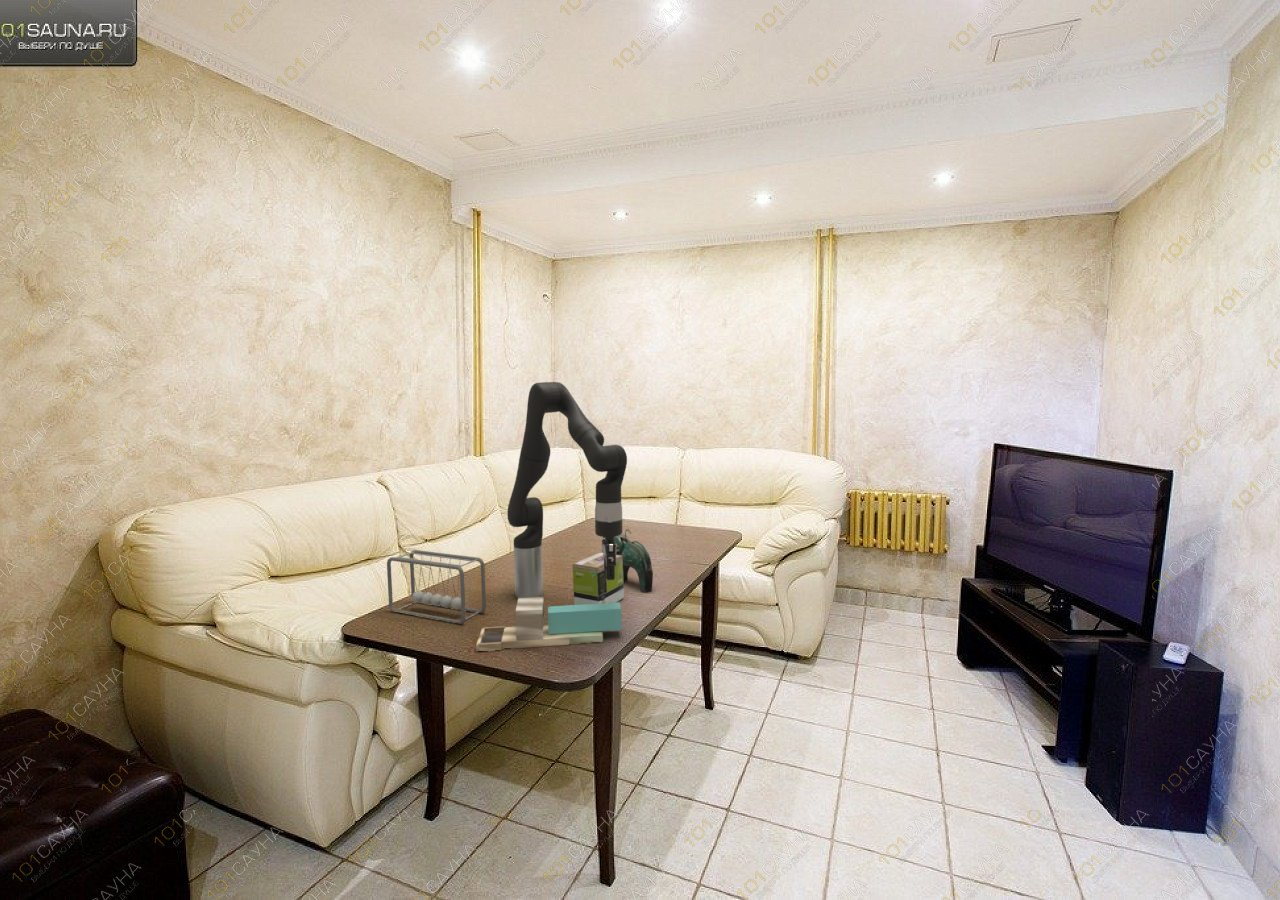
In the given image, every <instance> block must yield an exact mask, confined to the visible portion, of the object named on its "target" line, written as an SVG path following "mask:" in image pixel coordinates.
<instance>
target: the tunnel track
mask: <svg viewBox="0 0 1280 900" xmlns="http://www.w3.org/2000/svg"><path fill="white" fill-rule="evenodd" d="M544 601H545V600H544V596H541V597H533V598H517V603H516V606H515V607H516V608H515V626H505V625H500V626H485V627H482V628H481V630H480V634H479V635H478V639H477V642H476V645H475V646H476V652H477V651H488V652H496V651H495V650H501V651H502V650H505V649H504V648H511V649H525V648H538V647H539V648H540V647H552V646H553V647H554V646H555V647H557V646H568V645H569V644H571V645H581V644H580V643H586V644H592V643H591V642H601V643H604V635H603V634H604V633H603V631H594V632H578V633H562V634H548V624H545V609H544V607H545V605H544ZM569 646H570V645H569Z"/></svg>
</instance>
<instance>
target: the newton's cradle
mask: <svg viewBox="0 0 1280 900" xmlns="http://www.w3.org/2000/svg"><path fill="white" fill-rule="evenodd" d="M408 555H409V558H408V557H405V556H408ZM414 555H418V556H414ZM422 556H426V557H422ZM417 557H421V558H420V559H415V558H417ZM432 557H434V559H430V560H426V559H428V558H432ZM435 557H436V558H435ZM424 559H425V560H424ZM438 559H440V561H435V560H438ZM442 559H446V561H447V560H449V561H451V560H456V561H453V562H452V561H451V562H449V563H448V562H447V563H446V562H444V560H442ZM441 560H442V561H441ZM460 561H467V562H466V563H463V564H461V563H459V564H454V563H455V562H460ZM392 562H399V563H405V564H409V569H410V570H409V572H410V573H409V574H410V588H411V589H410V590H411V591H410V592H411V599H412V601H413V602H411V603H409V604H407V605H404V606H402V607H400V608H397V609H396V608H395V607H394V600H393V598H394V597H393V582H392V580H393V579H392V565H391V564H392ZM474 562H478V563H479V564H480V578H481V579H480V580H481V581H480V583H481V605H482V606H481V609H476V608H470V607H466V595H465V594H466V593H465V592H466V590H465V588H466V587H465V572H464V569H463V568H462V567H464V566H466V565H469V564H471V563H474ZM414 565H420V569H419V570H420V571H419V576H421V574H422V580H423V584H424V589H425V592H422V591H421V590H420V589H418V588H417V584H416V577H415V568H414V567H415V566H414ZM422 566H428V567H429V570H430V572H429V574H428V575H429V576H428V580H430V577H431V578H432V583H433V588H434V592H435V593H434V594H433V593H431V592H429V591H427V590H429V589H430V583H428V586H427V588H426V583H425V579H424V578H425V577H424V572H423V569H422ZM431 567H435V568H439V571H438V575H440V577H441V580H442V581H441V582H442V586H443V588H445V585H444V580H443V575H442V574H443V573H442V570H441V568H442V569H443V568H444V569H448V572H449V574H450V575H448V576H447V577H448V578H447V583H449V579H450V577H451V583H452V587H453V591H454V592H456V589H455V585H454V581H453V576H452V571H451V570H457V571H458V574H459V579H458V580H457V581H458V583H457V589H459V587H460V597H459V594H456V593H454V596H455V597H453V598H452V596H450V595H448V594H449V593H448V591H449V586H447V589H443V591H444V593H446V594H444V595H442V594H441V593H440V594H439V589H437V591H436V587H435V582H434V577H433V571H432V568H431ZM485 569H486V568H485V563H484V560H483V559H482V558H480V557H474V556H468V555H460V554H452V553H451V554H450V553H444V552H436V551H435V552H434V551H427V550H420V549H413V550H411V551H410V552H408V553H406V554H402V555H399V556H396V557H395V556H392V557H391V556H390V557H389V558H388V559H387V561H386V572H387V591H388V592H387V593H388V595H387V596H388V606H389V609H390V611H391V610H392V611H398V612H404V613H408V614H413V615H419V616H423V617H429V618H433V619H439V620H443V621H449V622H455V623H460V624H459V625H463V624H464V623H465V621H466V620H468V619H471V618H472V617H474V616H476V615H477V614H478V613H482V614H483V613H484V614H485V611H486V609H487V598H486V595H487V593H486V570H485ZM437 580H438V582H437V586H439V584H440V578H438V579H437ZM418 581H419V582H418V586H420V582H421V579H419V580H418ZM459 584H460V585H459ZM420 602H422V603H423V604H422V605H426V606H429V605H428V604H432V605H434V606H433V607H437V606H439V605H440V606H442V607H441V608H443V607H444V608H445V609H449V608H448V607H450V608H453V609H452V610H456V611H459V610H458V609H461V610H460V611H461V620H458V619H453V618H448V617H442V616H436V615H430V614H425V613H420V612H419V613H418V612H413V611H408V610H403V609H404V608H403V607H405V608H407V607H409V606H408V605H410V606H412V605H413V604H412V603H414V604H420ZM411 604H412V605H411ZM406 606H407V607H406ZM401 608H403V609H401ZM444 608H443V609H444ZM398 609H400V610H398ZM465 610H466V611H465ZM392 611H391V612H392ZM467 611H472V612H471V613H472V614H471V615H470V616H467V615H466V614H467V613H466V612H467ZM473 612H477V613H473ZM443 621H442V622H443ZM462 623H463V624H462Z"/></svg>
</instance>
